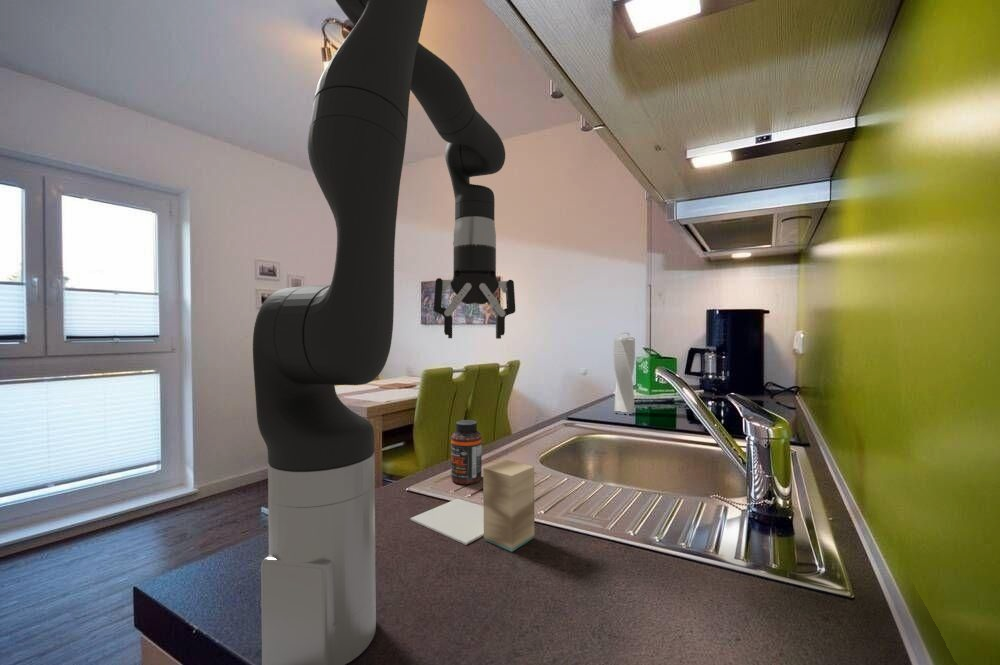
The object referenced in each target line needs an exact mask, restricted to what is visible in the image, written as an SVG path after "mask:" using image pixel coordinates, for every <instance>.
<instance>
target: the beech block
mask: <svg viewBox="0 0 1000 665" xmlns="http://www.w3.org/2000/svg"><path fill="white" fill-rule="evenodd" d="M482 472H483V473H482V474H483V475H482V476H483V478H482V480H483V481H482V482H483V486H482V487H483V490H482V491H483V492H482V493H483V499H482V500H483V508H484V536H483V540H484V541H485V542H488V543H490V544H493V545H495V546H497V547H500V548H502V549H505V550H506V551H509V552H514V551H515V550H517V549H519V548H520V547H522V546H524V545H526V544H527V543H528V542H531V541H532V540H533V539H534V538H535V466H532V465H529V464H524V463H521V462H516V461H513V460H508V459H505V460H502V461H499V462H497V463H494V464H491V465H488V466H486V467H483V468H482Z"/></svg>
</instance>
